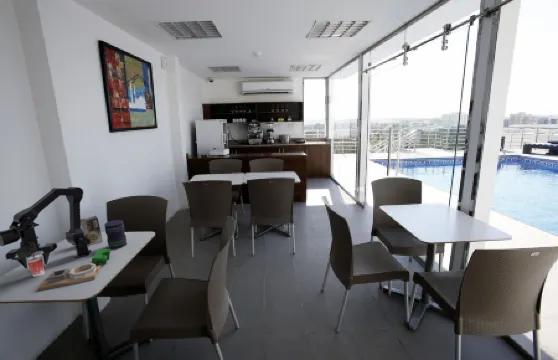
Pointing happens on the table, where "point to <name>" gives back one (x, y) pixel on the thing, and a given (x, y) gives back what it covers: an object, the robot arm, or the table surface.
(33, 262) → the beverage cup
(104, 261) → the clamp
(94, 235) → the coffee box
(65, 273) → the socket board
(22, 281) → the table surface
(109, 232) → the storage jar
